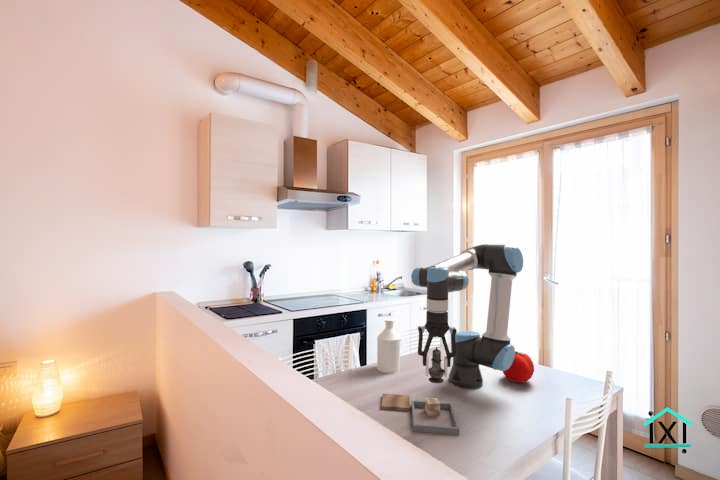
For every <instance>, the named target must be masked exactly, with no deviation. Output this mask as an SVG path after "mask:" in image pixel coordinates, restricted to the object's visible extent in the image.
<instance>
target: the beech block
mask: <svg viewBox="0 0 720 480" xmlns="http://www.w3.org/2000/svg"><path fill="white" fill-rule="evenodd" d="M424 411H425V412H426V413H427V416H441V408H440V401H439V399H438V397H425V407H424Z"/></svg>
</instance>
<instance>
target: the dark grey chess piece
mask: <svg viewBox="0 0 720 480" xmlns="http://www.w3.org/2000/svg"><path fill="white" fill-rule="evenodd" d="M441 354H442V352H441V350H440V349H438V347H437V346H436V347H435V349H433V350H432V354H431V356H432V358H431V367H428V375H429V376H430V377H428V381H429V382H430V383H432V384H443V383H444V381H445V380H444V379H443V376H445V375H444V372H445V371H444V368H442V361H443V360H442V359H441V357H442V355H441Z"/></svg>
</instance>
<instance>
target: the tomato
mask: <svg viewBox="0 0 720 480" xmlns="http://www.w3.org/2000/svg"><path fill="white" fill-rule="evenodd" d="M502 373H503V375H504V377H505V378H506V379H507V380H509V381H510V382H513V383H515V384H516V383H525V382H528V381H529V380H530V379H532V377H533V375H534V373H535V365H534V361H533V360H532V358H531V356H529V355H528V354H527V353H524V352H518V351H516V350H515V356H514V360H513V363H512V365H511V366H510V367H509V369H507V370H506V371H502Z"/></svg>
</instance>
